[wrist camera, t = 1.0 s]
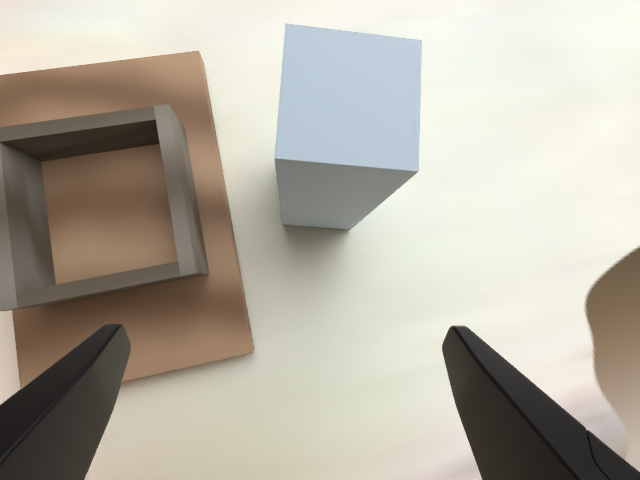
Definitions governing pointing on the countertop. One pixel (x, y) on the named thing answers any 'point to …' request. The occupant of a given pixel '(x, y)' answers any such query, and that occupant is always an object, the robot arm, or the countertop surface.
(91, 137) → the jig cradle
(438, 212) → the countertop surface
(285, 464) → the countertop surface
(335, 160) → the block
